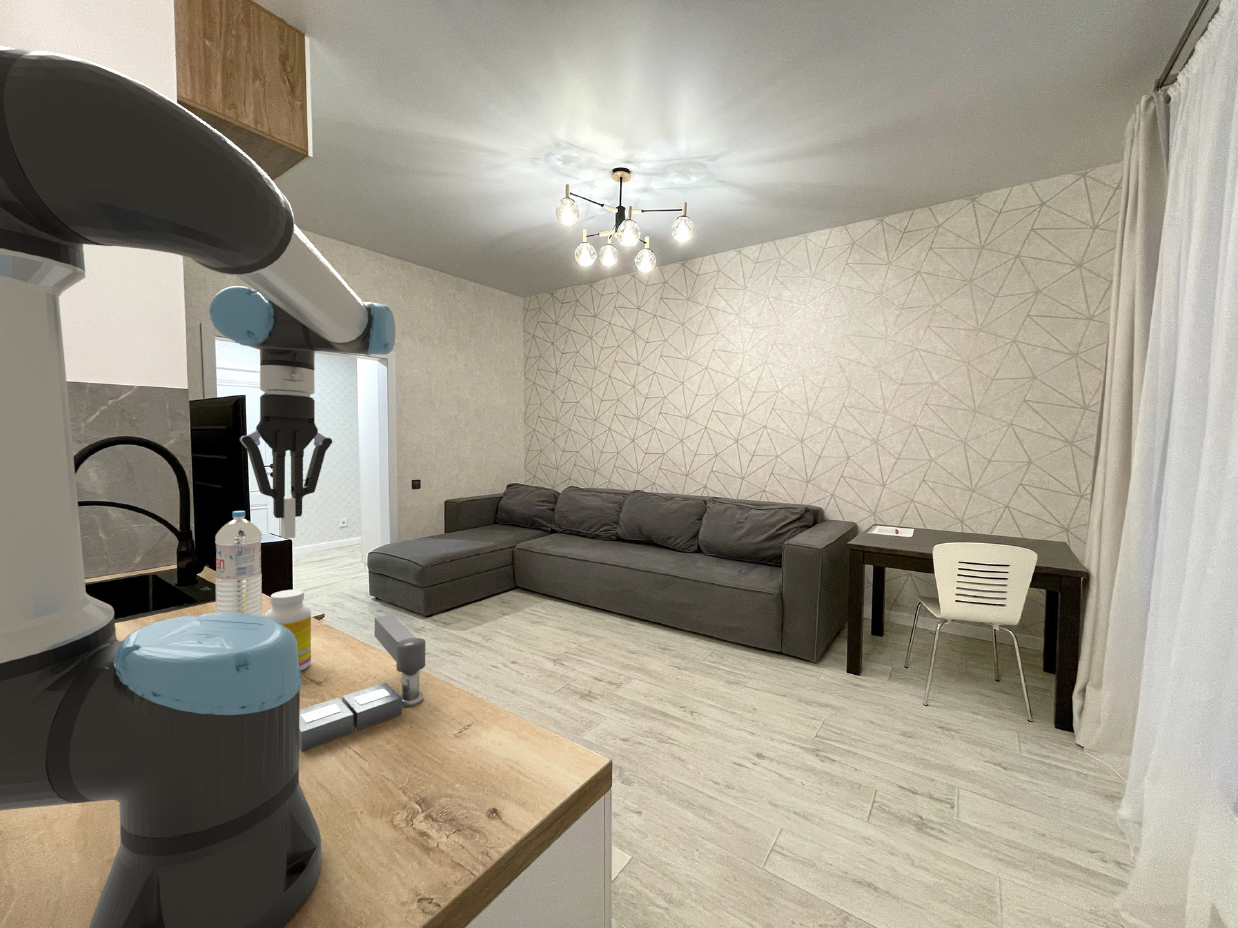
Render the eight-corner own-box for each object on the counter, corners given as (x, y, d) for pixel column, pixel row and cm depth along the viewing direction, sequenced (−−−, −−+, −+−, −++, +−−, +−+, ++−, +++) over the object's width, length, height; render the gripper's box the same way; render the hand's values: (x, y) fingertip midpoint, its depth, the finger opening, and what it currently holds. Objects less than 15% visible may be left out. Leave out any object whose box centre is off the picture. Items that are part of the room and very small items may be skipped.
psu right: (357, 731, 67) (357, 712, 67) (342, 713, 72) (342, 695, 71) (402, 714, 72) (402, 696, 72) (385, 698, 76) (385, 681, 76)
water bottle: (222, 640, 95) (221, 509, 94) (265, 635, 98) (265, 508, 97) (210, 654, 89) (209, 514, 88) (257, 649, 92) (257, 513, 91)
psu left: (301, 751, 63) (301, 731, 63) (289, 731, 67) (289, 712, 67) (353, 732, 67) (353, 713, 67) (338, 714, 71) (338, 696, 71)
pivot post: (403, 709, 73) (403, 677, 73) (393, 700, 76) (393, 668, 75) (427, 700, 76) (428, 669, 75) (417, 692, 78) (417, 661, 78)
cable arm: (370, 637, 86) (370, 617, 85) (395, 632, 88) (395, 612, 88) (401, 675, 73) (401, 650, 72) (429, 667, 75) (429, 644, 75)
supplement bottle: (320, 661, 88) (320, 588, 87) (291, 679, 81) (291, 600, 81) (284, 658, 88) (284, 586, 88) (253, 676, 82) (253, 598, 81)
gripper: (243, 389, 75) (244, 545, 76) (338, 397, 85) (338, 535, 86) (234, 392, 81) (235, 537, 82) (325, 398, 90) (324, 529, 91)
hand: (287, 536), depth 84 cm, fingers closed
